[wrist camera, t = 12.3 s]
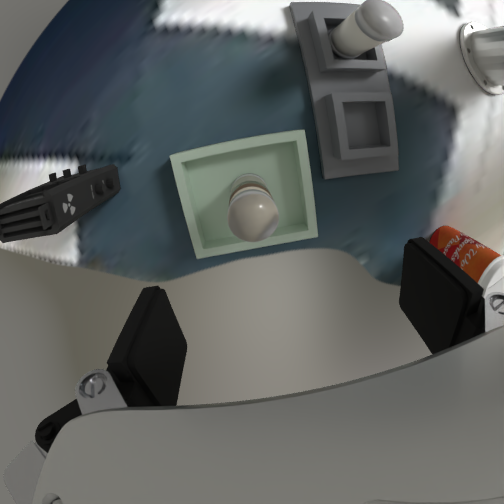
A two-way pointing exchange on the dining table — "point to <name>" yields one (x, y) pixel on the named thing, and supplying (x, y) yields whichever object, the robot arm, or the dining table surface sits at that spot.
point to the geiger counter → (56, 203)
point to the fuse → (365, 29)
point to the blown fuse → (251, 209)
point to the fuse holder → (346, 96)
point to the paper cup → (471, 258)
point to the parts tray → (222, 177)
